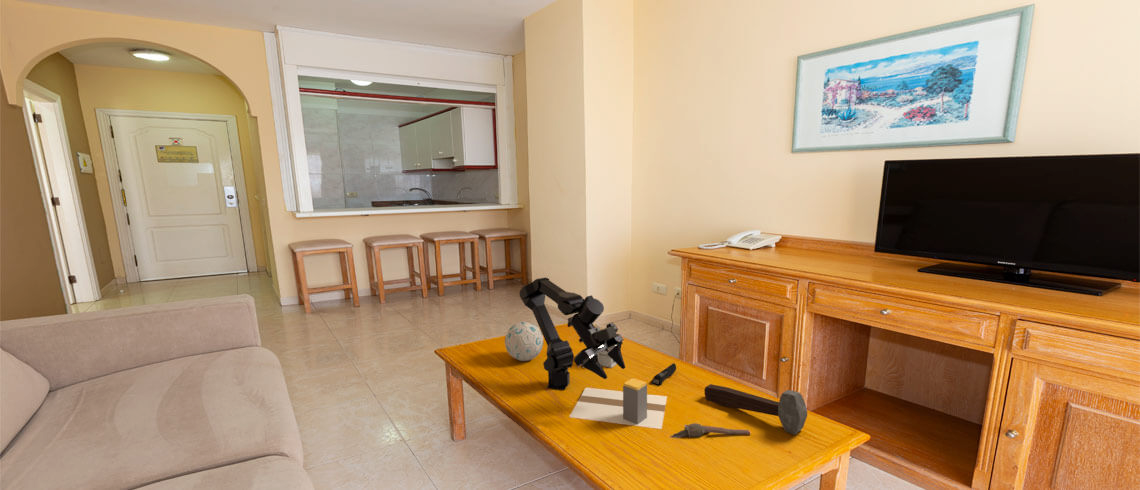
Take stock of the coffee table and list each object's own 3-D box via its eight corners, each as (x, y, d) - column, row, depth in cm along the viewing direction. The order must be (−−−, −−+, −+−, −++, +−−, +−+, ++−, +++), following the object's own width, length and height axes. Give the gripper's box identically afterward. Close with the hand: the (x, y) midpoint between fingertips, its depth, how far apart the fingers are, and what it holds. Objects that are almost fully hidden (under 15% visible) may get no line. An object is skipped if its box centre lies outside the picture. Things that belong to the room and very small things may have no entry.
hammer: (704, 411, 148) (801, 438, 125) (701, 377, 147) (797, 397, 124) (712, 406, 151) (808, 431, 128) (709, 372, 150) (805, 391, 127)
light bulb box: (619, 362, 179) (619, 335, 177) (611, 368, 173) (611, 341, 172) (595, 357, 184) (595, 331, 183) (587, 363, 179) (586, 336, 177)
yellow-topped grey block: (623, 418, 135) (623, 383, 134) (632, 412, 139) (632, 377, 138) (637, 424, 132) (637, 388, 131) (646, 417, 136) (647, 382, 134)
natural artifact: (668, 441, 127) (666, 426, 129) (749, 435, 128) (745, 419, 130) (671, 440, 124) (668, 424, 126) (754, 434, 125) (750, 418, 127)
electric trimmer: (679, 372, 170) (679, 363, 170) (660, 387, 158) (660, 378, 157) (669, 369, 172) (669, 361, 172) (650, 384, 160) (650, 375, 160)
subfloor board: (569, 419, 137) (569, 416, 137) (585, 389, 156) (585, 387, 156) (661, 431, 130) (661, 428, 130) (667, 398, 149) (667, 396, 149)
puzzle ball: (523, 349, 194) (522, 315, 192) (551, 357, 185) (550, 321, 183) (497, 361, 182) (496, 324, 180) (526, 370, 173) (525, 331, 171)
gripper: (580, 323, 133) (612, 370, 127) (618, 309, 147) (648, 350, 141) (561, 344, 139) (590, 389, 133) (599, 328, 153) (627, 368, 147)
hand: (615, 373), depth 138 cm, fingers open, 9 cm apart
